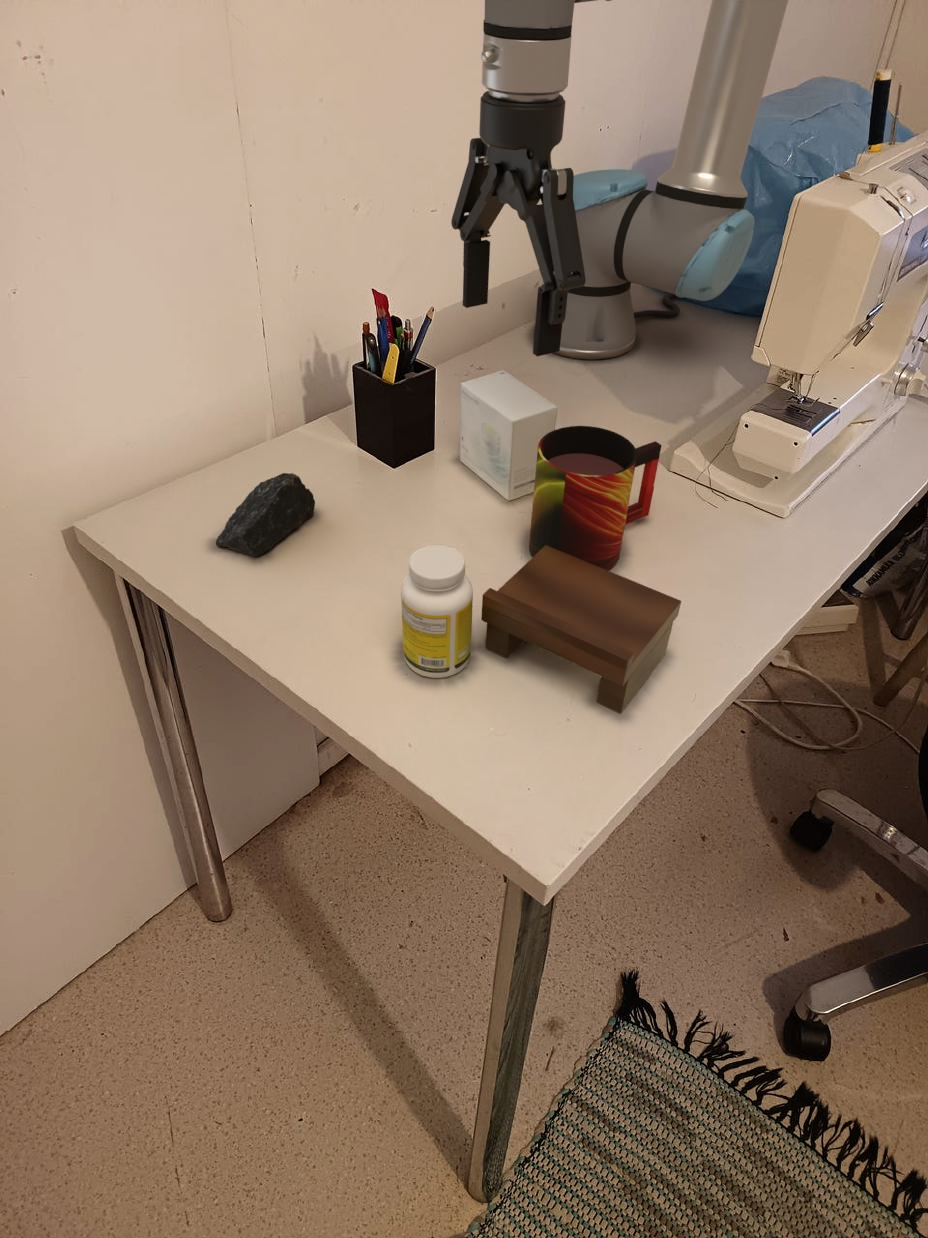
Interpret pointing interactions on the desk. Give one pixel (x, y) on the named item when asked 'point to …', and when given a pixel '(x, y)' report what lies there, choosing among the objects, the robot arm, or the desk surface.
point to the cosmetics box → (503, 431)
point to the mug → (588, 492)
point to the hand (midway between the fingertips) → (508, 327)
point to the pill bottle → (437, 612)
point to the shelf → (583, 621)
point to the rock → (268, 515)
